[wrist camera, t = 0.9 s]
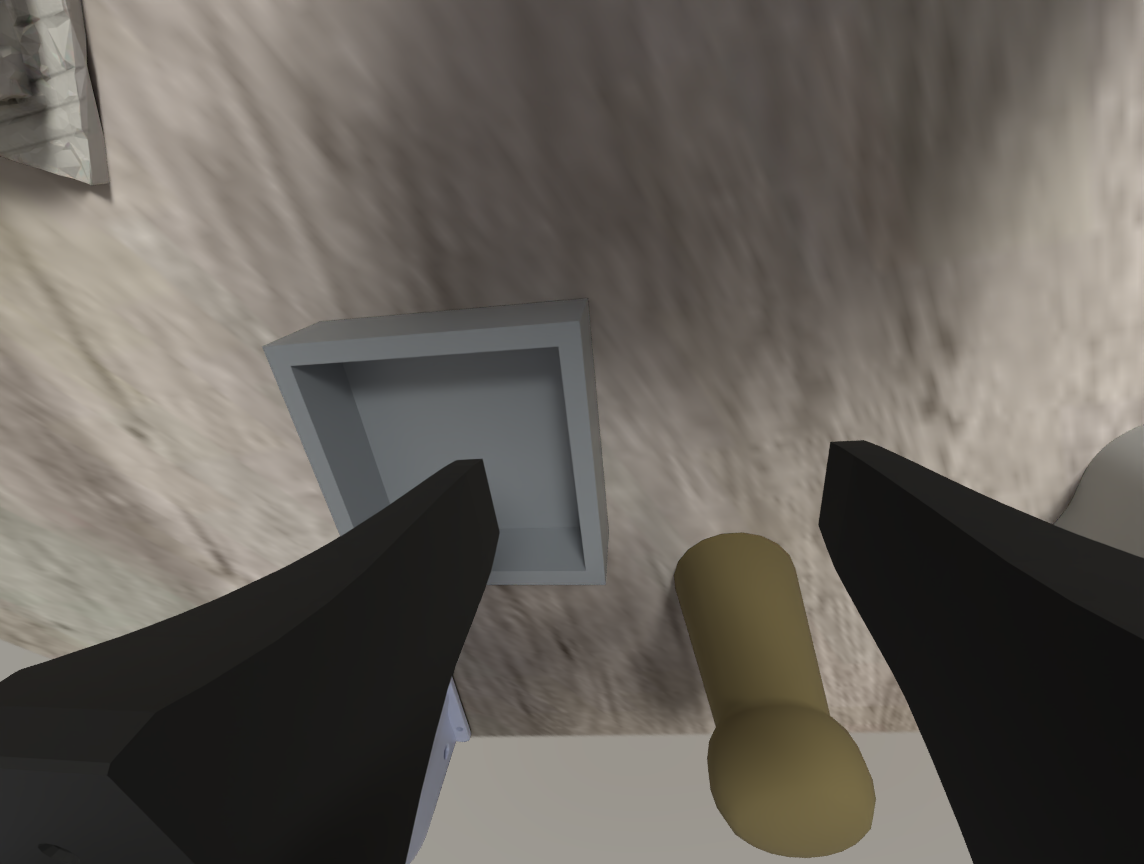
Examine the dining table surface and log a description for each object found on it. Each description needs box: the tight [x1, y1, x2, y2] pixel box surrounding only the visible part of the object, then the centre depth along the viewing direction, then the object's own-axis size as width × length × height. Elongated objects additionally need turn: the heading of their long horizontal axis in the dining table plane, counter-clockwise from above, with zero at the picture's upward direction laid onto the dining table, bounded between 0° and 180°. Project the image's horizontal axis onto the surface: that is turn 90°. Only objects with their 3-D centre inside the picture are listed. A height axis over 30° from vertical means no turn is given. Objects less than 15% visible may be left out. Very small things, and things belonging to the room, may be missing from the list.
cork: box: [674, 533, 876, 858], centre depth 19 cm, size 6×6×11 cm
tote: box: [262, 298, 609, 585], centre depth 20 cm, size 12×12×4 cm
